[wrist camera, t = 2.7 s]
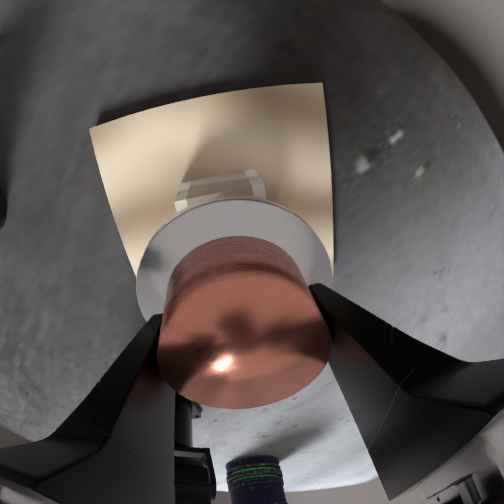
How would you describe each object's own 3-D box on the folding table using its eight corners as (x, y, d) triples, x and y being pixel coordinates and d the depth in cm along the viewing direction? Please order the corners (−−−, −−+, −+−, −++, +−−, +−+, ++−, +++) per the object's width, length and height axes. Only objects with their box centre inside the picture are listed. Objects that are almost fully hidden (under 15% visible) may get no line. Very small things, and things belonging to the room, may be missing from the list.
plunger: (304, 288, 15) (354, 396, 9) (177, 313, 15) (169, 431, 9) (294, 158, 12) (380, 223, 6) (135, 190, 12) (69, 283, 6)
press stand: (328, 272, 22) (351, 307, 18) (154, 306, 22) (146, 347, 18) (316, 83, 15) (347, 79, 11) (95, 127, 15) (62, 136, 11)
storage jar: (220, 459, 39) (229, 535, 26) (278, 451, 39) (296, 527, 26) (229, 473, 44) (238, 537, 31) (279, 466, 44) (293, 530, 31)
